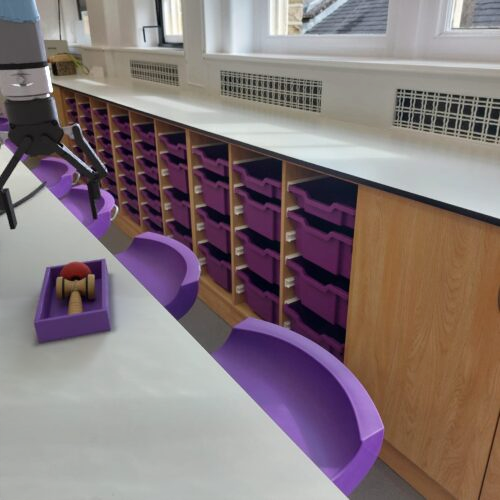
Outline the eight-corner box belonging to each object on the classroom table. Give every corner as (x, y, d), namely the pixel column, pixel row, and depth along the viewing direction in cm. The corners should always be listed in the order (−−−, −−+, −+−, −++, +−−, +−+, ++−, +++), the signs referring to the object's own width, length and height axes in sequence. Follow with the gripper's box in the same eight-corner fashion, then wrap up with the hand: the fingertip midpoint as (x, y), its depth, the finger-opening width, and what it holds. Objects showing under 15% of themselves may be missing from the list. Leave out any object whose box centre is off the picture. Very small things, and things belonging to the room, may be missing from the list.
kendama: (106, 329, 86) (100, 273, 100) (93, 303, 82) (89, 249, 97) (62, 344, 85) (63, 286, 99) (47, 318, 81) (50, 261, 96)
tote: (51, 287, 100) (46, 267, 98) (109, 277, 103) (105, 258, 101) (39, 346, 81) (33, 323, 79) (111, 333, 84) (106, 310, 82)
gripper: (-67, 105, 71) (-27, 239, 80) (110, 94, 77) (128, 220, 86) (-53, 98, 77) (-18, 223, 86) (109, 89, 83) (126, 206, 92)
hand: (55, 221), depth 86 cm, fingers open, 13 cm apart
